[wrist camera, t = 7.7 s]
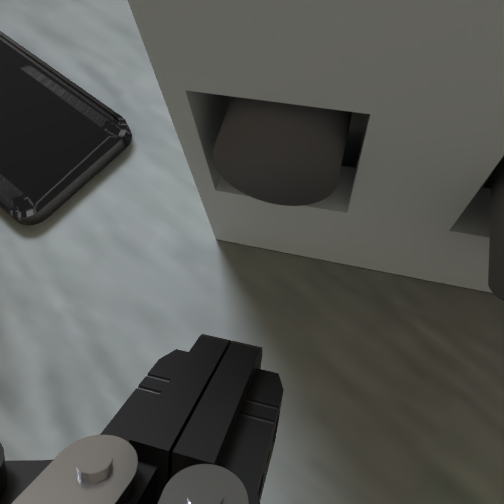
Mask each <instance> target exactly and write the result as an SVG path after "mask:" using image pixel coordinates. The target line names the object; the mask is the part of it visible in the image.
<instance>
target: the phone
mask: <svg viewBox="0 0 504 504" xmlns="http://www.w3.org/2000/svg"><path fill="white" fill-rule="evenodd" d="M131 136H132V134H131V131H130V129H129V127H128V125H127V123H126V121H125V119H124V118H123V117H122V116H120V115H119V114H117V113H116V112H114V111H113V110H112V109H110V108H109V107H107V106H106V105H104V104H103V103H102V102H100V101H99V100H97V99H96V98H95V97H93V96H92V95H90V94H89V93H87V92H86V91H85V90H83V89H82V88H80V87H79V86H78V85H76V84H75V83H73V82H72V81H70V80H69V79H68V78H66V77H65V76H63V75H62V74H60V73H59V72H58V71H56V70H55V69H53V68H52V67H51V66H49V65H48V64H46V63H45V62H43V61H42V60H41V59H39V58H38V57H36V56H35V55H34V54H32V53H31V52H29V51H28V50H26V49H25V48H24V47H22V46H21V45H19V44H18V43H17V42H15V41H14V40H12V39H11V38H9V37H8V36H7V35H5V34H4V33H2V32H1V31H0V206H1V207H2V208H3V209H4V210H5V211H6V212H7V213H8V214H9V215H10V216H12V217H13V218H14V219H15V220H16V221H18V222H20V223H21V224H25V225H33V224H37V223H40V222H42V221H43V220H45V219H46V218H48V217H49V216H50V215H51V214H52V213H53V212H55V211H56V210H57V209H58V208H59V207H60V206H61V205H62V204H64V203H65V202H66V201H67V200H68V199H69V198H70V197H72V196H73V195H74V194H75V193H76V192H77V191H78V190H79V189H81V188H82V187H83V186H84V185H85V184H86V183H87V182H88V181H90V180H91V179H92V178H93V177H94V176H95V175H96V174H97V173H99V172H100V171H101V170H102V169H103V168H104V167H105V166H107V165H108V164H109V163H110V162H111V161H112V160H113V159H114V158H116V157H117V156H118V155H119V154H120V153H121V152H122V151H123V150H125V149H126V147H127V146H128V145H129V143H130V141H131Z"/></svg>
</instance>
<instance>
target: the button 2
mask: <svg viewBox="0 0 504 504" xmlns="http://www.w3.org/2000/svg"><path fill="white" fill-rule="evenodd" d="M488 286H489V288H490V290H491V291H492V292H493V293H494V294H495V295H496V296H498V297H499V298H501V299H503V300H504V156H503V157H502V159H501V160H500V161H499V163H498V164H497V166H496V167H495V168H494V170H493V171H492V183H491V212H490V241H489V270H488Z"/></svg>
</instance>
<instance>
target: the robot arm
mask: <svg viewBox="0 0 504 504" xmlns="http://www.w3.org/2000/svg"><path fill="white" fill-rule="evenodd" d="M261 359H262V347H257V346H253V345H249V344H244V343H240V342H236V341H231V340H226V339H222V338H218V337H213V336H209V335H204V334H202V335H201V336H200V337H199V338H198V340H197V341H196V343H195V344H194V346H193V347H192V348H191V350H190V351H189V352H185V351H181V350H177V349H176V350H174V351H173V352H171V353H169V354H168V355H166V356H164V357H162V358H161V359H159V360H158V361H157V363H156V364H155V365H154V366H153V368H152V369H151V370H150V372H149V373H148V376H147V377H145V378H144V379H143V381H142V382H141V383H140V384H139V387H138V389H136V390H135V391H134V392H133V393H132V395H131V396H130V397H129V398H128V400H127V401H126V402H125V404H124V405H123V406H122V407H121V409H120V410H119V411H118V413H117V414H116V415H115V416H114V418H113V419H112V420H111V421H110V423H109V424H108V425H107V427H106V428H105V429H104V430H103V432H102V433H101V434H100V435H95V436H90V437H86V438H83V439H81V440H78V441H76V442H74V443H73V444H71V445H70V446H68V447H67V448H65V449H64V450H63V451H62V452H61V453H60V454H59V455H58V456H57V457H56V458H55V459H54V460H40V461H5V457H4V450H3V447H2V445H1V443H0V504H260V499H261V495H262V491H263V487H264V483H265V479H266V475H267V471H268V467H269V463H270V459H271V455H272V451H273V447H274V443H275V439H276V432H277V426H278V420H279V414H280V408H281V402H282V396H283V387H282V384H281V380H280V377H279V374H278V373H274V372H270V371H265V370H261V369H260V367H261Z"/></svg>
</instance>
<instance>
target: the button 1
mask: <svg viewBox="0 0 504 504" xmlns="http://www.w3.org/2000/svg"><path fill="white" fill-rule="evenodd" d="M351 115H352V112H349V111H341V110H333V109H325V108H318V107H310V106H302V105H295V104H287V103H279V102H271V101H264V100H256V99H248V98H240V97H233V96H232V98H231V100H230V103H229V106H228V109H227V112H226V114H225V117H224V120H223V123H222V126H221V129H220V131H219V134H218V137H217V140H216V143H215V145H214V149H213V162H214V164H215V167H216V169H217V170H218V172H219V173H220V175H221V176H222V177H223V178H224V179H225V180H226V181H227V182H228V183H229V184H230V185H232V186H233V187H234V188H236V189H237V190H239V191H241V192H242V193H244V194H246V195H248V196H250V197H253V198H255V199H258V200H261V201H264V202H268V203H272V204H277V205H285V206H302V205H309V204H313V203H317V202H319V201H321V200H323V199H325V198H327V197H328V196H329V195H331V194H332V192H333V191H334V190H335V188H336V186H337V183H338V179H339V174H340V169H341V164H342V159H343V154H344V150H345V145H346V140H347V135H348V130H349V125H350V120H351Z"/></svg>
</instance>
